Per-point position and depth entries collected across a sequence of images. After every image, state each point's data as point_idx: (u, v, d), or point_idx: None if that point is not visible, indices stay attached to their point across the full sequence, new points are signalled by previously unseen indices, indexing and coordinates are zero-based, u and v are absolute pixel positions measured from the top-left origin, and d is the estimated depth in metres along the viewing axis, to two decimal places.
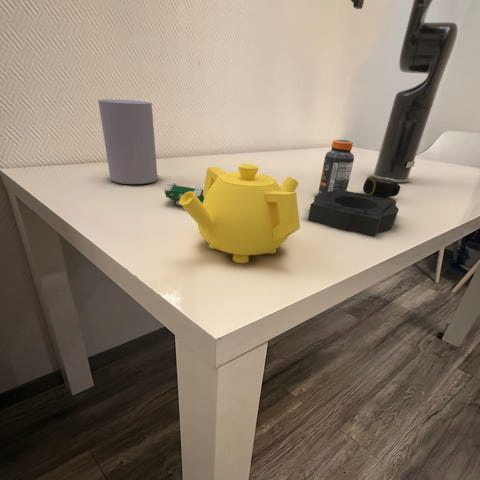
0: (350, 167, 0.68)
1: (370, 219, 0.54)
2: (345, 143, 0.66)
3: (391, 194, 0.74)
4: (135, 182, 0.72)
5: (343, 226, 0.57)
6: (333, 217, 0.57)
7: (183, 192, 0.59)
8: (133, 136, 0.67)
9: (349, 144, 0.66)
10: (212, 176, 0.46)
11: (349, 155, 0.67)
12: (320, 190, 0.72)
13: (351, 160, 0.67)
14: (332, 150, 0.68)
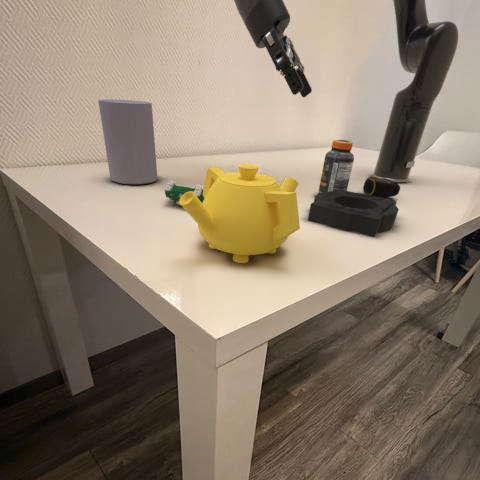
0: (350, 167, 0.68)
1: (370, 219, 0.54)
2: (345, 143, 0.66)
3: (391, 194, 0.74)
4: (135, 182, 0.72)
5: (343, 226, 0.57)
6: (333, 217, 0.57)
7: (183, 192, 0.59)
8: (133, 136, 0.67)
9: (349, 144, 0.66)
10: (212, 176, 0.46)
11: (349, 155, 0.67)
12: (320, 190, 0.72)
13: (351, 160, 0.67)
14: (332, 150, 0.68)
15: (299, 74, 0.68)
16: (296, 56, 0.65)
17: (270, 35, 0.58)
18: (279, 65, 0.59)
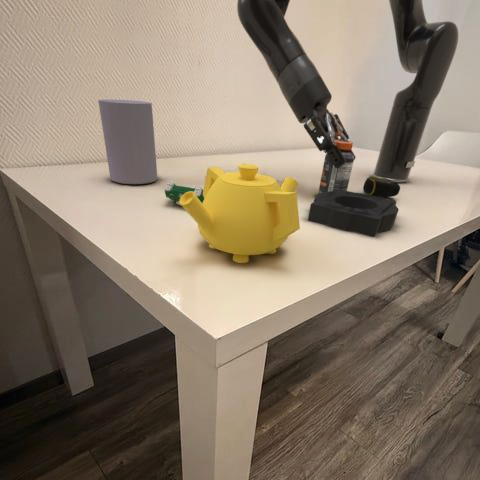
0: (350, 167, 0.68)
1: (370, 219, 0.54)
2: (345, 143, 0.66)
3: (391, 194, 0.74)
4: (135, 182, 0.72)
5: (343, 226, 0.57)
6: (333, 217, 0.57)
7: (183, 192, 0.59)
8: (133, 136, 0.67)
9: (349, 144, 0.66)
10: (212, 176, 0.46)
11: (349, 155, 0.67)
12: (320, 190, 0.72)
13: (351, 160, 0.67)
14: None
15: None
16: (338, 128, 0.68)
17: (311, 123, 0.63)
18: (321, 146, 0.64)
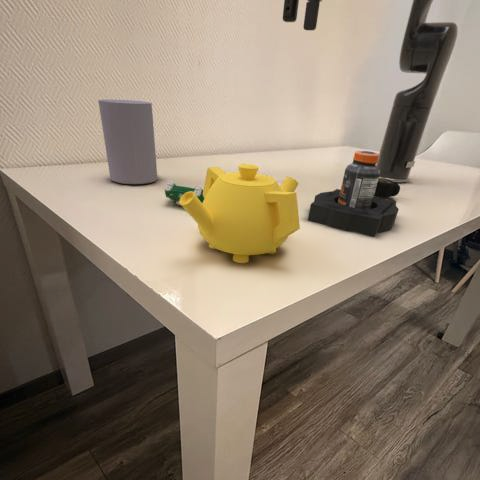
0: (375, 183, 0.57)
1: (370, 219, 0.54)
2: (370, 155, 0.55)
3: (391, 194, 0.74)
4: (135, 182, 0.72)
5: (343, 226, 0.57)
6: (333, 217, 0.57)
7: (183, 192, 0.59)
8: (133, 136, 0.67)
9: (375, 157, 0.55)
10: (212, 176, 0.46)
11: (375, 169, 0.56)
12: None
13: (377, 175, 0.56)
14: (354, 163, 0.57)
15: None
16: None
17: None
18: None
